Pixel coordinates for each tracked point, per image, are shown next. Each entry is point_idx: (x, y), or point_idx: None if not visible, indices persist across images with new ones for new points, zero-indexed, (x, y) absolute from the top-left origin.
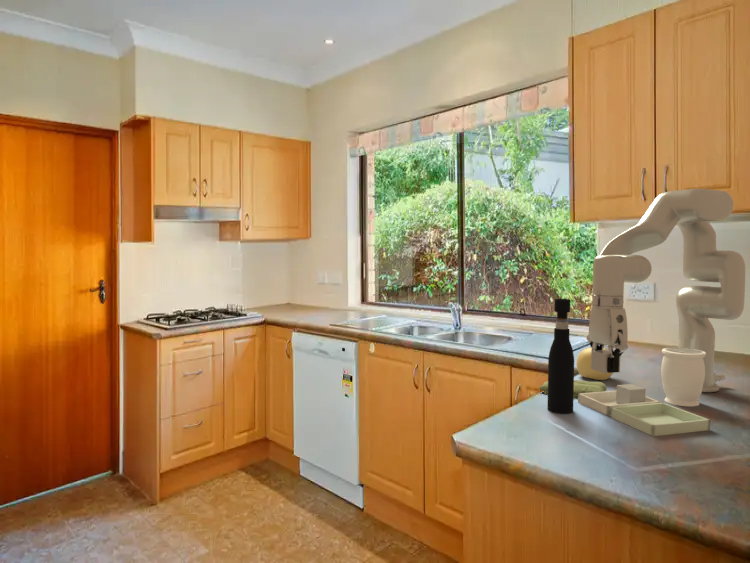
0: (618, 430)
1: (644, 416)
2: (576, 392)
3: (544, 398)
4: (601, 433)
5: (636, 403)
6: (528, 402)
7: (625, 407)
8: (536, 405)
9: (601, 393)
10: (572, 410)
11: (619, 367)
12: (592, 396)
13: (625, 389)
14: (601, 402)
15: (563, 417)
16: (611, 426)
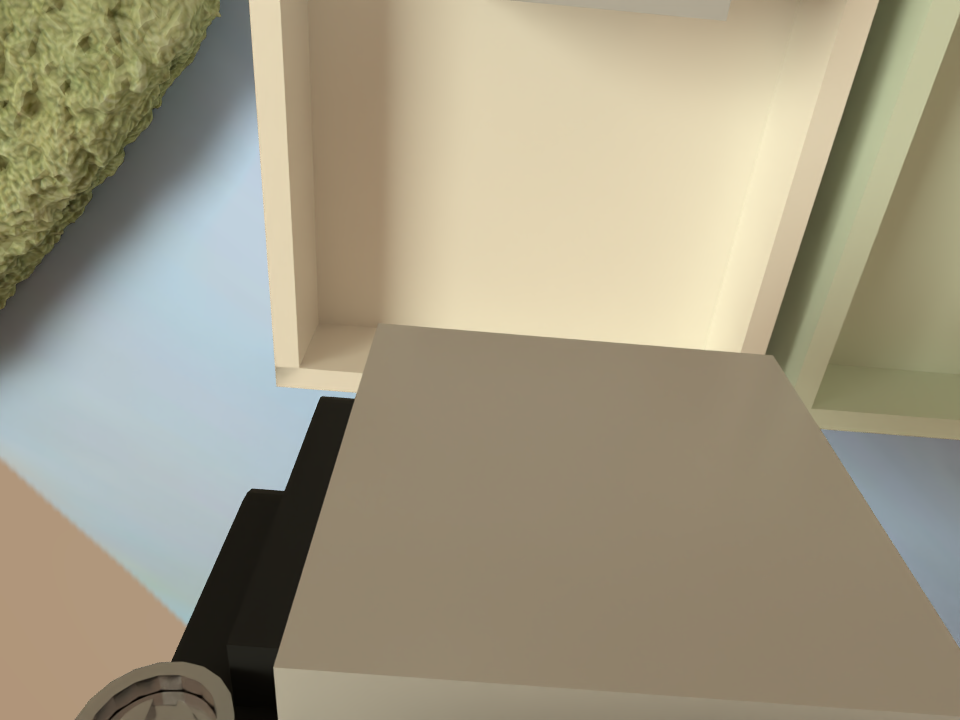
0: (944, 480)
1: (939, 67)
2: (58, 220)
3: (84, 466)
4: None
5: (853, 63)
6: (180, 608)
7: (852, 286)
8: None
9: (289, 100)
10: None
11: (806, 426)
12: (300, 218)
13: (626, 8)
14: (368, 128)
15: None
16: (862, 466)
